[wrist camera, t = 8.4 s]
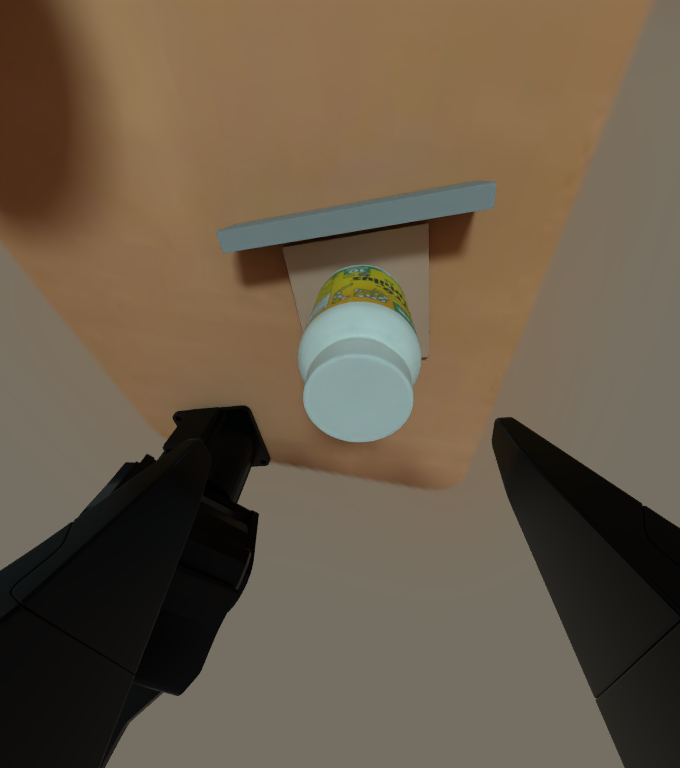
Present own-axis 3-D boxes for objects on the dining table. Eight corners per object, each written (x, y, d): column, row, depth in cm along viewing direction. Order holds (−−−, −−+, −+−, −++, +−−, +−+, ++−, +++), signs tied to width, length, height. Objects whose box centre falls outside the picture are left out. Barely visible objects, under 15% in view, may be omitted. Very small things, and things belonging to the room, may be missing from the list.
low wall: (477, 203, 16) (494, 208, 14) (239, 244, 18) (223, 253, 16) (479, 180, 15) (496, 181, 13) (233, 224, 17) (215, 231, 15)
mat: (428, 354, 21) (429, 356, 21) (312, 366, 22) (311, 369, 22) (427, 222, 17) (428, 223, 16) (283, 246, 18) (282, 247, 17)
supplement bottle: (302, 317, 20) (257, 414, 12) (349, 241, 17) (332, 301, 9) (371, 360, 21) (372, 473, 13) (425, 296, 18) (467, 390, 10)
